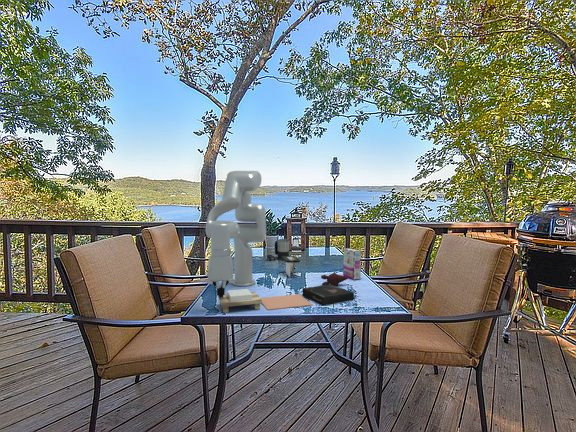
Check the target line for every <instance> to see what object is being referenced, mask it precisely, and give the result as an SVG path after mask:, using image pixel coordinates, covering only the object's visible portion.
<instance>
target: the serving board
mask: <svg viewBox="0 0 576 432" xmlns="http://www.w3.org/2000/svg"><path fill="white" fill-rule="evenodd" d="M250 292H251V293H252V299H251V300H241V301H230V300H229V298H228V296H227V293H225V295H223V298H219V296H217V298H218V300H219V305H220V306H221V307H222V313H223V314H224V313H225V314H226V313H229V307H235V306H237V307H239V306H247V305H253V306H254V307H253V308H254V310H260V309H261V304H262V300H261V298H262V297H260V296H259V295H258V294H257V292H256V291H250Z"/></svg>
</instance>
